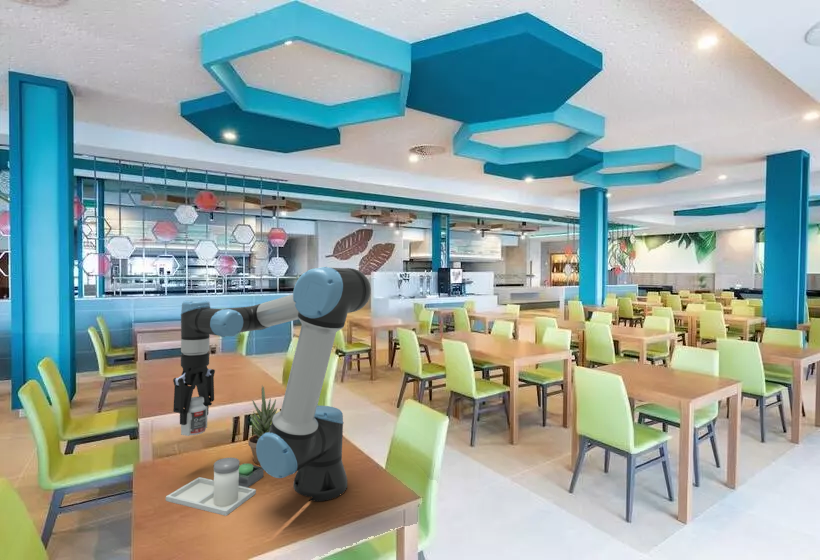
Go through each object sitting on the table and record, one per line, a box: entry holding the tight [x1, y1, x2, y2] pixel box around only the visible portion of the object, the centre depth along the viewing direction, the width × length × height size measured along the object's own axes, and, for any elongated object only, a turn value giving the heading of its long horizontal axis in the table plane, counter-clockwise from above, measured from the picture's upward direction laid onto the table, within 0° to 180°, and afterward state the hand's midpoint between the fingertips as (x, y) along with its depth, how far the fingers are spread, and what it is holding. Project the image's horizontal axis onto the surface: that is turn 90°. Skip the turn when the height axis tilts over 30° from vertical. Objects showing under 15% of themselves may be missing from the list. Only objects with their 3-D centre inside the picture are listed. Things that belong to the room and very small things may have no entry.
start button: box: [239, 463, 254, 476], centre depth 126 cm, size 4×4×2 cm
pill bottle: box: [188, 396, 207, 436], centre depth 129 cm, size 6×6×10 cm
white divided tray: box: [165, 476, 257, 517], centre depth 116 cm, size 20×13×2 cm, turn 72°
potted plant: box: [247, 385, 278, 465], centre depth 142 cm, size 10×10×25 cm
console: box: [239, 464, 265, 488], centre depth 126 cm, size 7×7×4 cm
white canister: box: [213, 457, 240, 507], centre depth 115 cm, size 6×6×10 cm
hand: (194, 430), depth 129 cm, fingers closed on pill bottle, 6 cm apart
